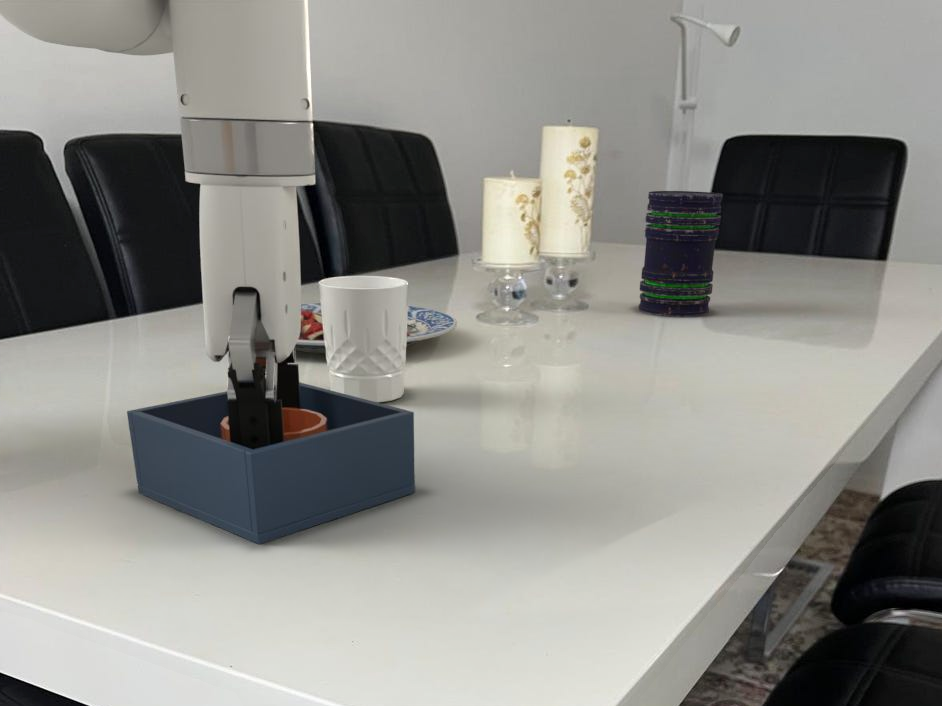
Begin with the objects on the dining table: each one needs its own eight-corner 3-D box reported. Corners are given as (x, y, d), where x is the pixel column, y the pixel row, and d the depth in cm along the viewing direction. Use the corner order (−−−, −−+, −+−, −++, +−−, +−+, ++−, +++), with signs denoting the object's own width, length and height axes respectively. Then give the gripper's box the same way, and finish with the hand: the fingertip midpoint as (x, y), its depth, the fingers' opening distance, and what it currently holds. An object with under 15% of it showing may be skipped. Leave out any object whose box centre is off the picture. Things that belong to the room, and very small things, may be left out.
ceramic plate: (229, 366, 102) (226, 336, 100) (234, 322, 124) (232, 297, 123) (476, 360, 107) (476, 332, 105) (438, 318, 129) (438, 294, 128)
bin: (138, 493, 67) (126, 410, 65) (292, 452, 76) (287, 378, 73) (259, 544, 59) (250, 453, 57) (415, 492, 68) (414, 411, 66)
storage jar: (630, 305, 142) (639, 190, 135) (697, 305, 143) (710, 191, 136) (647, 317, 133) (658, 195, 126) (719, 317, 134) (733, 196, 127)
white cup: (359, 381, 97) (355, 273, 93) (426, 392, 94) (425, 280, 89) (307, 397, 91) (299, 282, 87) (376, 410, 88) (373, 291, 83)
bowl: (207, 484, 67) (200, 420, 65) (287, 463, 72) (282, 402, 70) (270, 509, 63) (264, 441, 61) (350, 484, 68) (347, 420, 66)
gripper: (211, 149, 66) (232, 407, 74) (149, 159, 50) (185, 483, 58) (325, 153, 66) (335, 409, 74) (299, 163, 51) (314, 484, 59)
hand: (269, 441), depth 66 cm, fingers open, 9 cm apart
